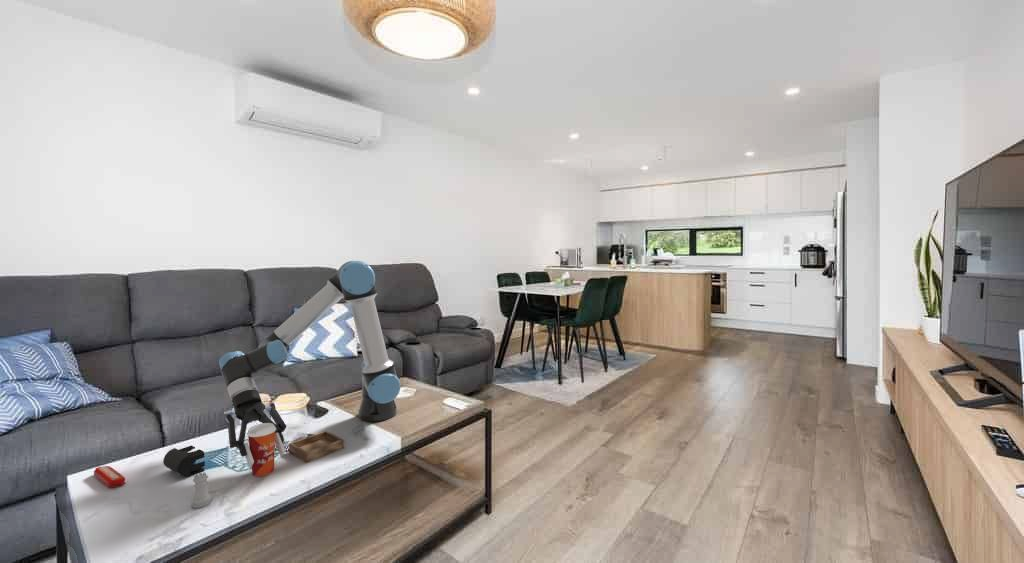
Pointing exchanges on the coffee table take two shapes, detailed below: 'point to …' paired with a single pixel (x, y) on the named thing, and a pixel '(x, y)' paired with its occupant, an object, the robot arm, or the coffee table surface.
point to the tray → (316, 446)
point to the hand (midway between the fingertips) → (267, 458)
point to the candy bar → (109, 476)
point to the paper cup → (262, 448)
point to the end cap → (184, 461)
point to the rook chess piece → (201, 491)
